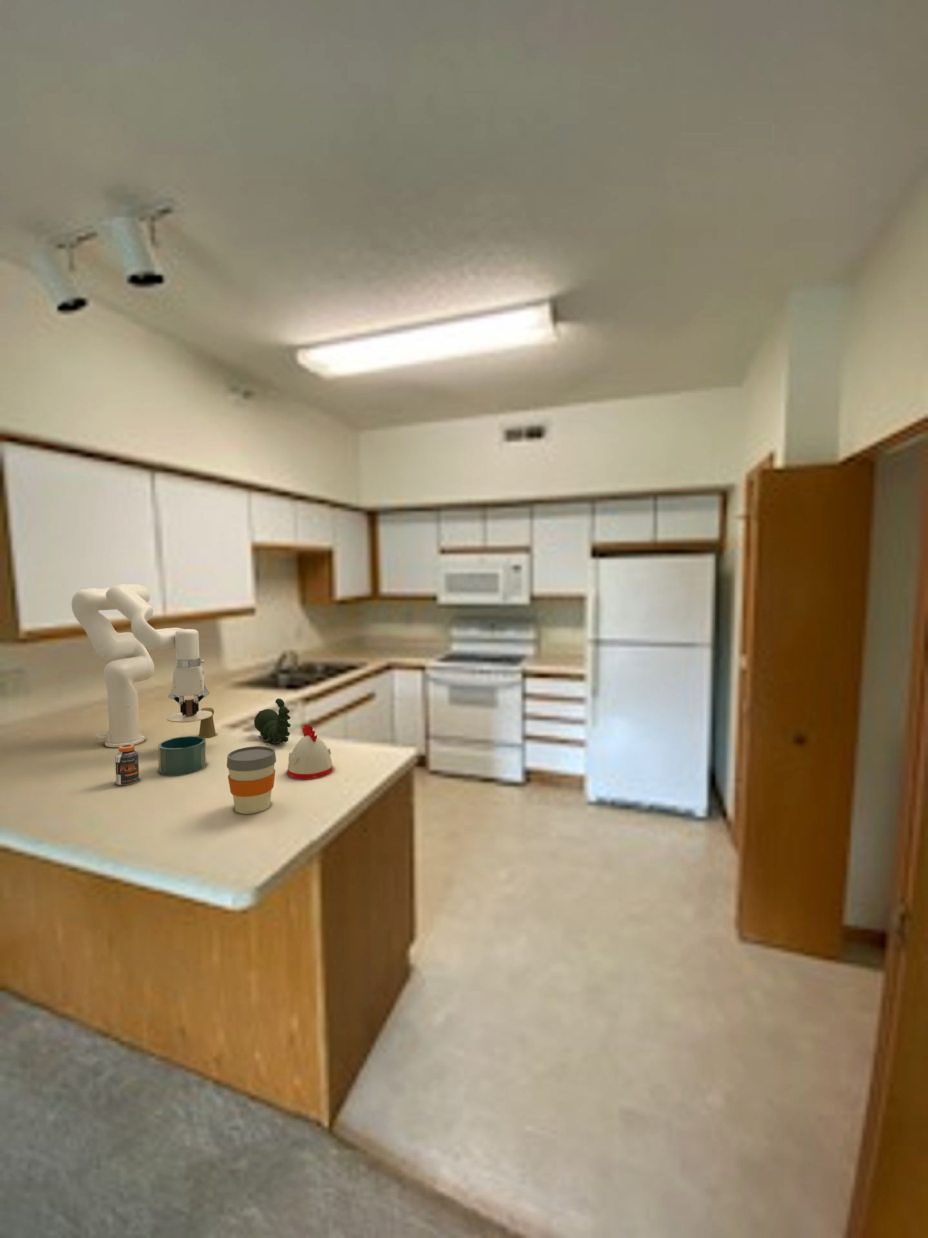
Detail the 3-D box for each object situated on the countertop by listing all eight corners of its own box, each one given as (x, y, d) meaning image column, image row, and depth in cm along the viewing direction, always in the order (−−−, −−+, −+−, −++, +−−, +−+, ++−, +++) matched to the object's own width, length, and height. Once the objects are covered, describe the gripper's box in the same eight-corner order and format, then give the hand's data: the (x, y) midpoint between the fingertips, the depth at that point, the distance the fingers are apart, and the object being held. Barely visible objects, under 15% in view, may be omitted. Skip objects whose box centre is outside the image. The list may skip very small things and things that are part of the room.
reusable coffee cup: (227, 820, 136) (226, 763, 135) (228, 801, 147) (226, 749, 146) (278, 812, 141) (277, 757, 140) (275, 794, 152) (274, 743, 151)
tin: (155, 777, 164) (154, 751, 163) (163, 763, 177) (162, 738, 176) (203, 772, 169) (203, 746, 168) (207, 758, 181) (207, 734, 181)
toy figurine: (296, 749, 197) (271, 728, 215) (298, 701, 194) (271, 684, 213) (271, 755, 191) (247, 733, 209) (272, 704, 188) (248, 687, 206)
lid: (163, 725, 180) (162, 705, 179) (170, 715, 194) (169, 696, 193) (210, 721, 185) (209, 702, 185) (214, 711, 199) (213, 693, 198)
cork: (208, 738, 204) (208, 710, 203) (195, 737, 205) (194, 709, 204) (219, 733, 210) (218, 706, 209) (205, 732, 211) (205, 705, 210)
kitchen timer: (319, 760, 180) (318, 718, 179) (340, 771, 171) (340, 726, 170) (280, 770, 171) (279, 725, 170) (300, 782, 161) (299, 735, 160)
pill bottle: (119, 787, 156) (118, 750, 155) (113, 782, 160) (112, 745, 159) (142, 781, 160) (140, 745, 160) (135, 776, 164) (134, 741, 164)
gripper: (214, 661, 194) (215, 709, 196) (163, 663, 188) (165, 713, 190) (212, 664, 187) (213, 714, 189) (160, 666, 181) (162, 718, 183)
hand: (189, 713), depth 189 cm, fingers closed on lid, 3 cm apart
